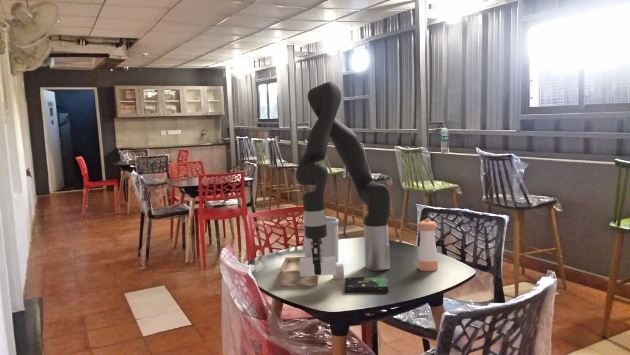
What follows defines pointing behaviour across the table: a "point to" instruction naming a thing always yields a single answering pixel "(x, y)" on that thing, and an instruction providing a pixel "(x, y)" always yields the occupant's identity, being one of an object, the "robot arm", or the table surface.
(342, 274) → the spool
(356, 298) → the table surface
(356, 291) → the disk drive
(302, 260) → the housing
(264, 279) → the table surface
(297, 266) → the wooden tray
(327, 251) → the utensil holder
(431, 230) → the pepper shaker
